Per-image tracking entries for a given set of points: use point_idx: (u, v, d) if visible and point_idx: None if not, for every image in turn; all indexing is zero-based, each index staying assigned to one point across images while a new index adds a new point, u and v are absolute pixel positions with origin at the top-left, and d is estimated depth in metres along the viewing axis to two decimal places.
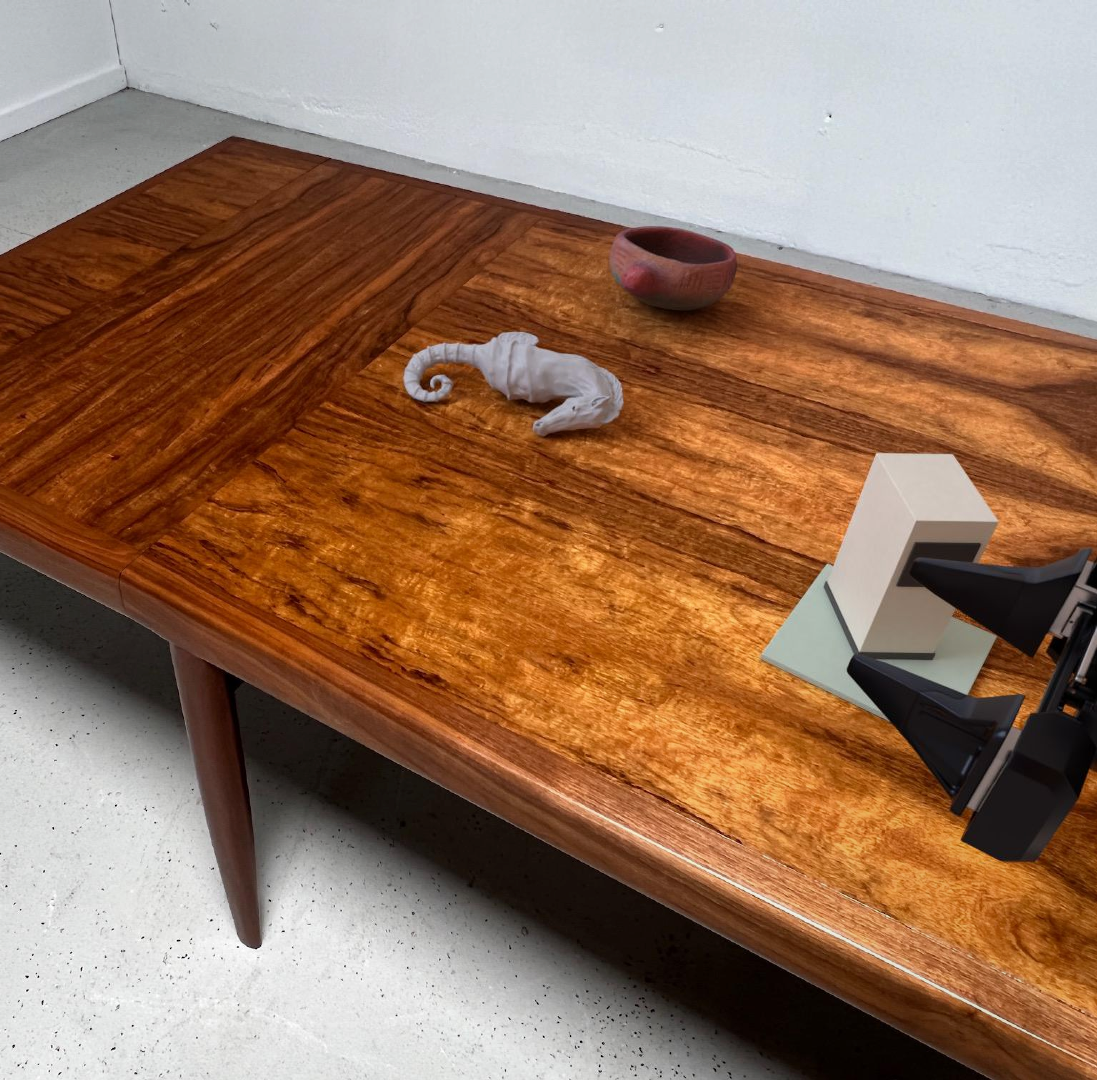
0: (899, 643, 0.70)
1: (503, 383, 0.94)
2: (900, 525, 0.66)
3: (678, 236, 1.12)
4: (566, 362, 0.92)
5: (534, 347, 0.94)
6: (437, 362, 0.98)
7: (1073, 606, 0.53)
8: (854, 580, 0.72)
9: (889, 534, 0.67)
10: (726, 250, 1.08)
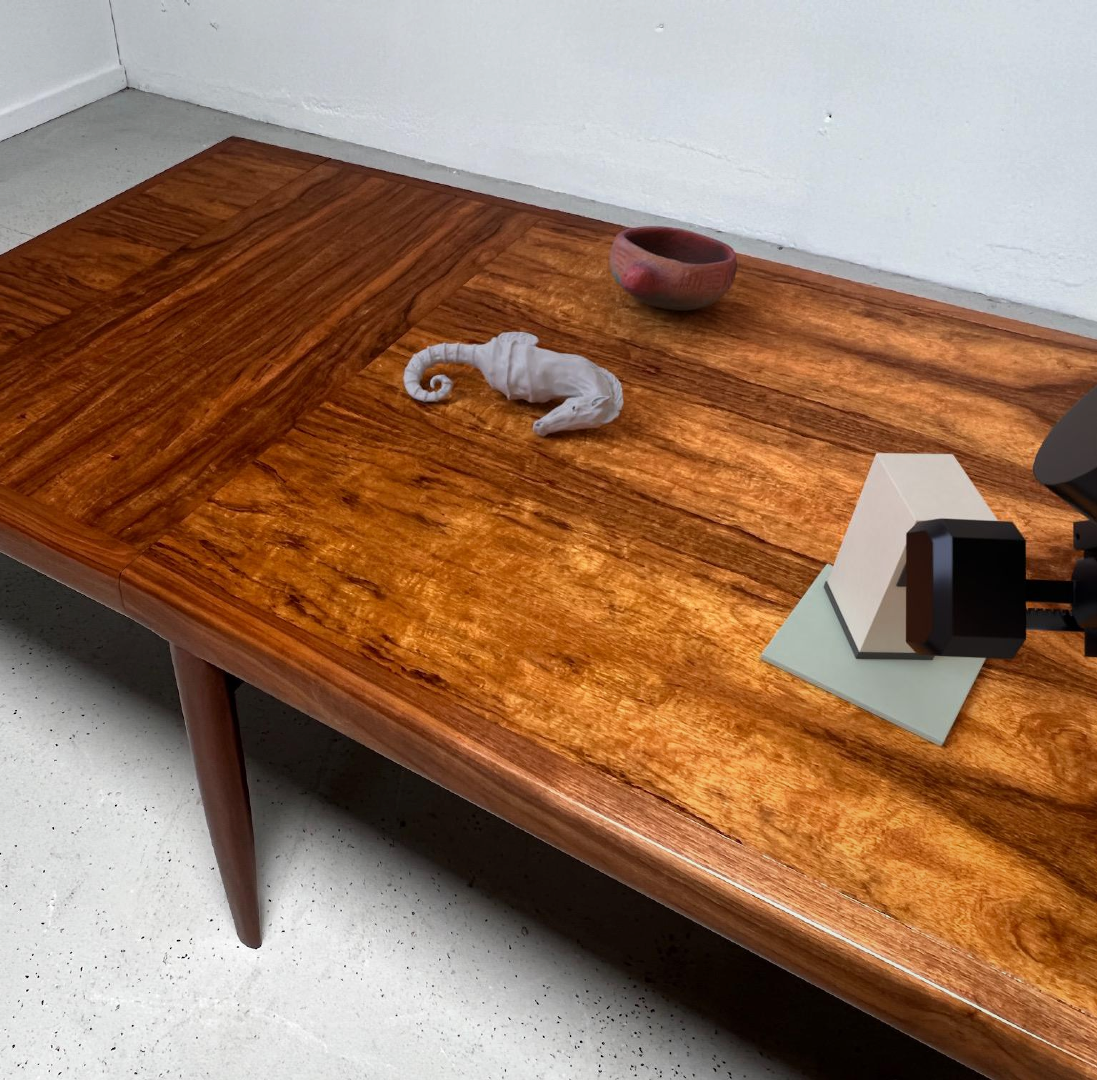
0: (899, 643, 0.70)
1: (503, 383, 0.94)
2: (900, 525, 0.66)
3: (678, 236, 1.12)
4: (566, 362, 0.92)
5: (534, 347, 0.94)
6: (437, 362, 0.98)
7: None
8: (854, 580, 0.72)
9: (889, 534, 0.67)
10: (726, 250, 1.08)
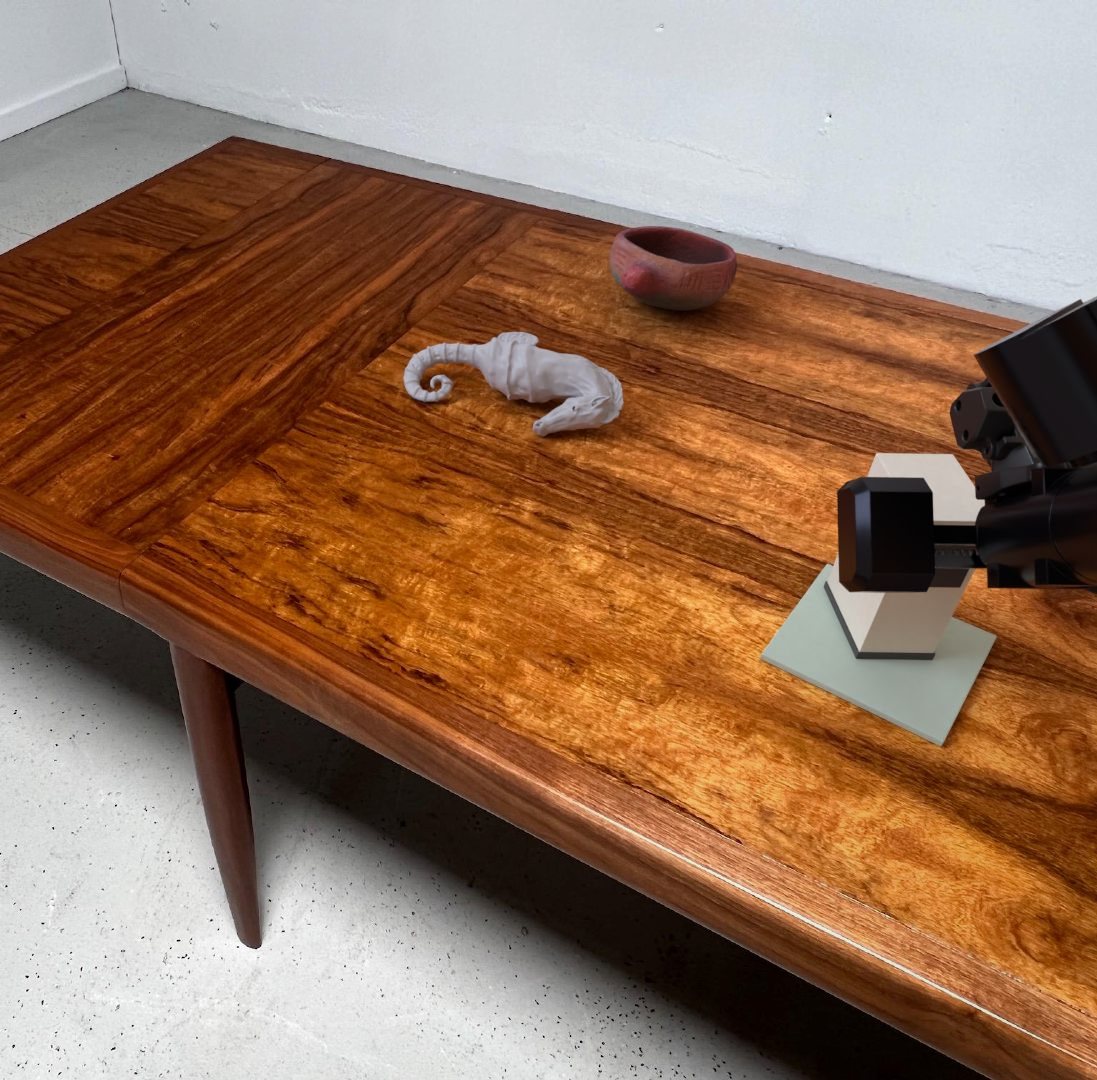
0: (899, 643, 0.70)
1: (503, 383, 0.94)
2: None
3: (678, 236, 1.12)
4: (566, 362, 0.92)
5: (534, 347, 0.94)
6: (437, 362, 0.98)
7: None
8: None
9: None
10: (726, 250, 1.08)
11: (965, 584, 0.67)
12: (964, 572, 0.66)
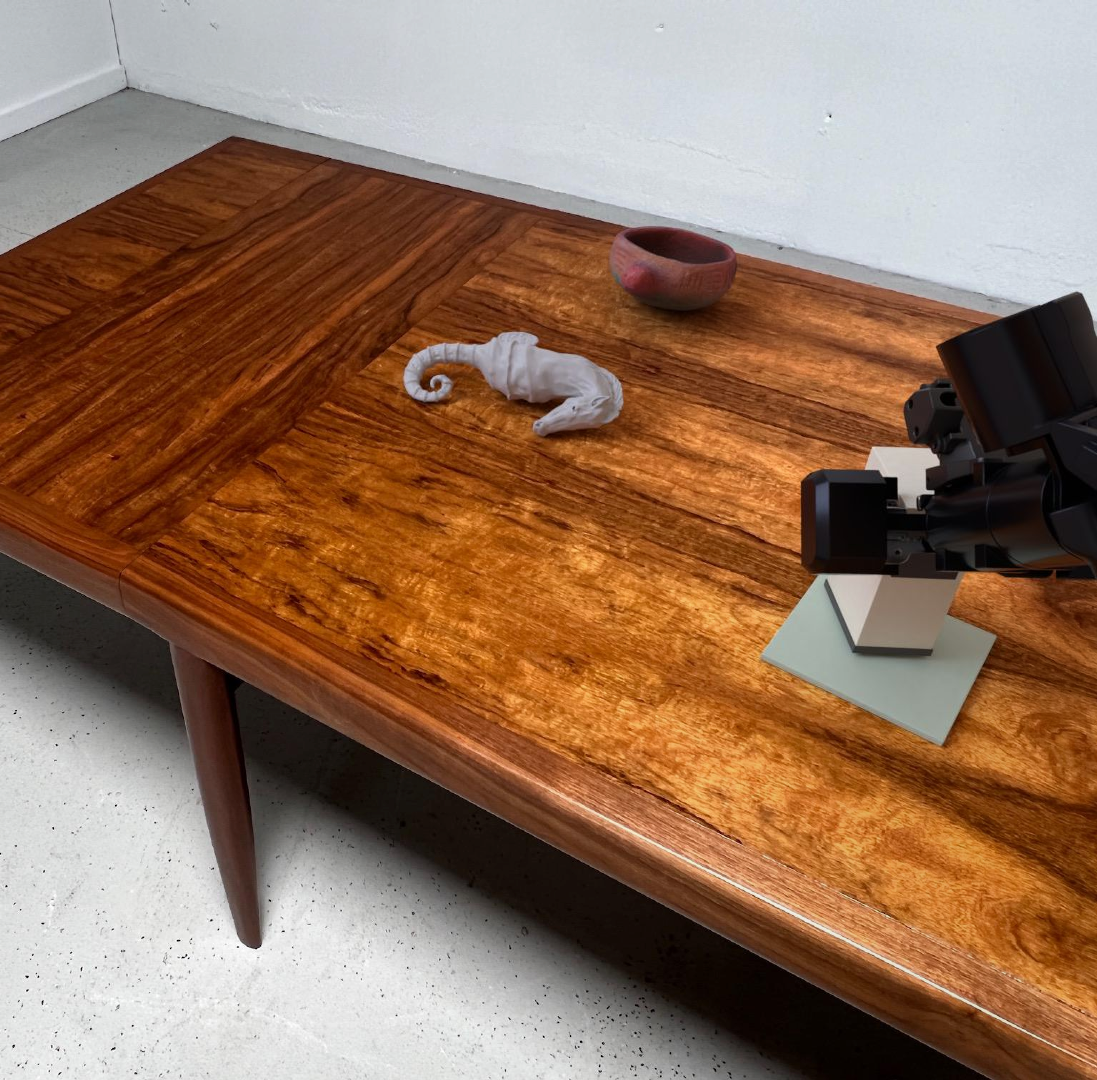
0: (896, 637, 0.70)
1: (503, 383, 0.94)
2: None
3: (678, 236, 1.12)
4: (566, 362, 0.92)
5: (534, 347, 0.94)
6: (437, 362, 0.98)
7: None
8: None
9: None
10: (726, 250, 1.08)
11: (960, 576, 0.67)
12: None
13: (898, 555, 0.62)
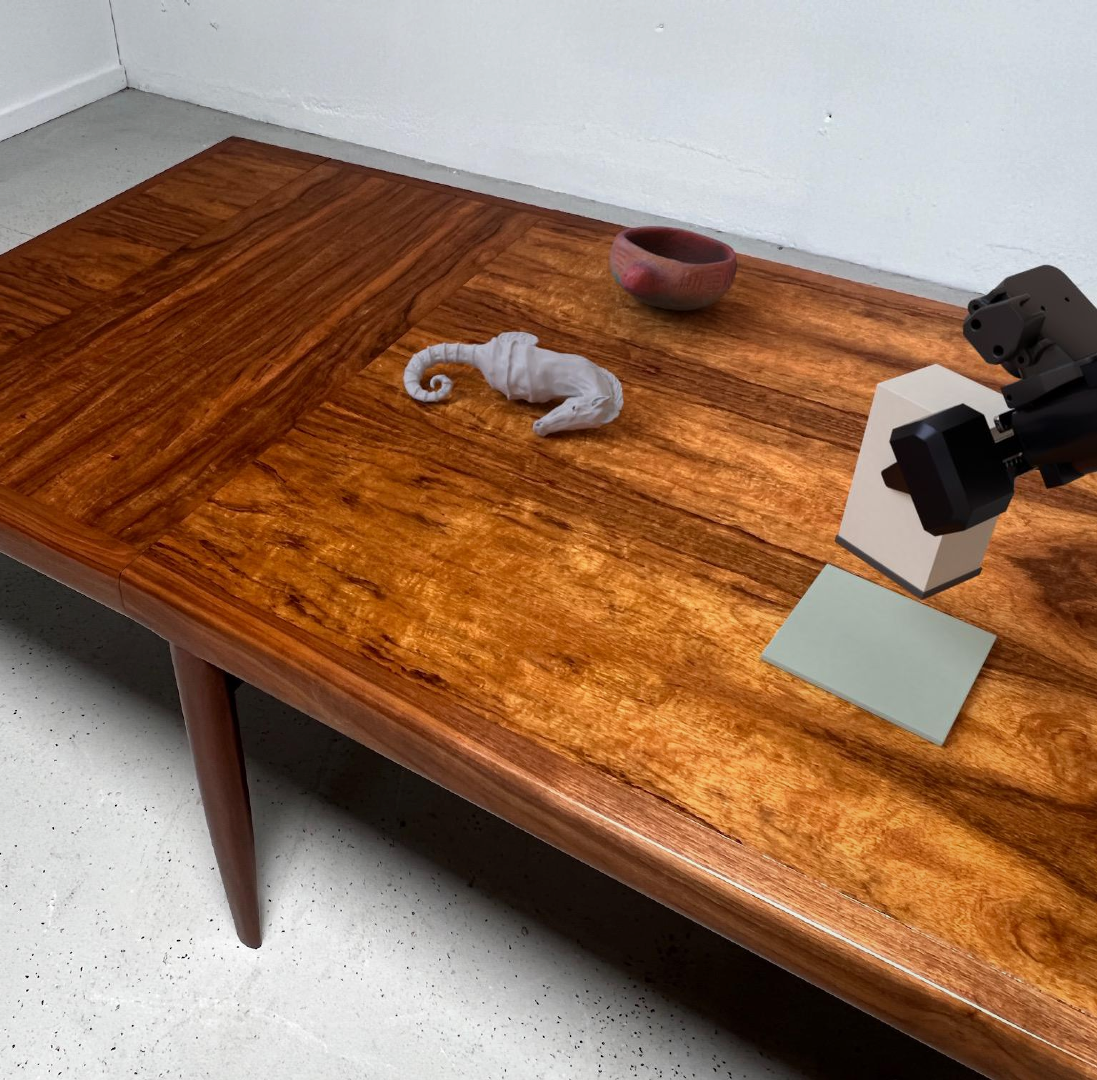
0: (955, 569, 0.66)
1: (504, 383, 0.94)
2: None
3: (678, 236, 1.12)
4: (566, 362, 0.92)
5: (534, 347, 0.94)
6: (437, 362, 0.98)
7: None
8: (887, 521, 0.67)
9: None
10: (726, 250, 1.08)
11: None
12: None
13: None
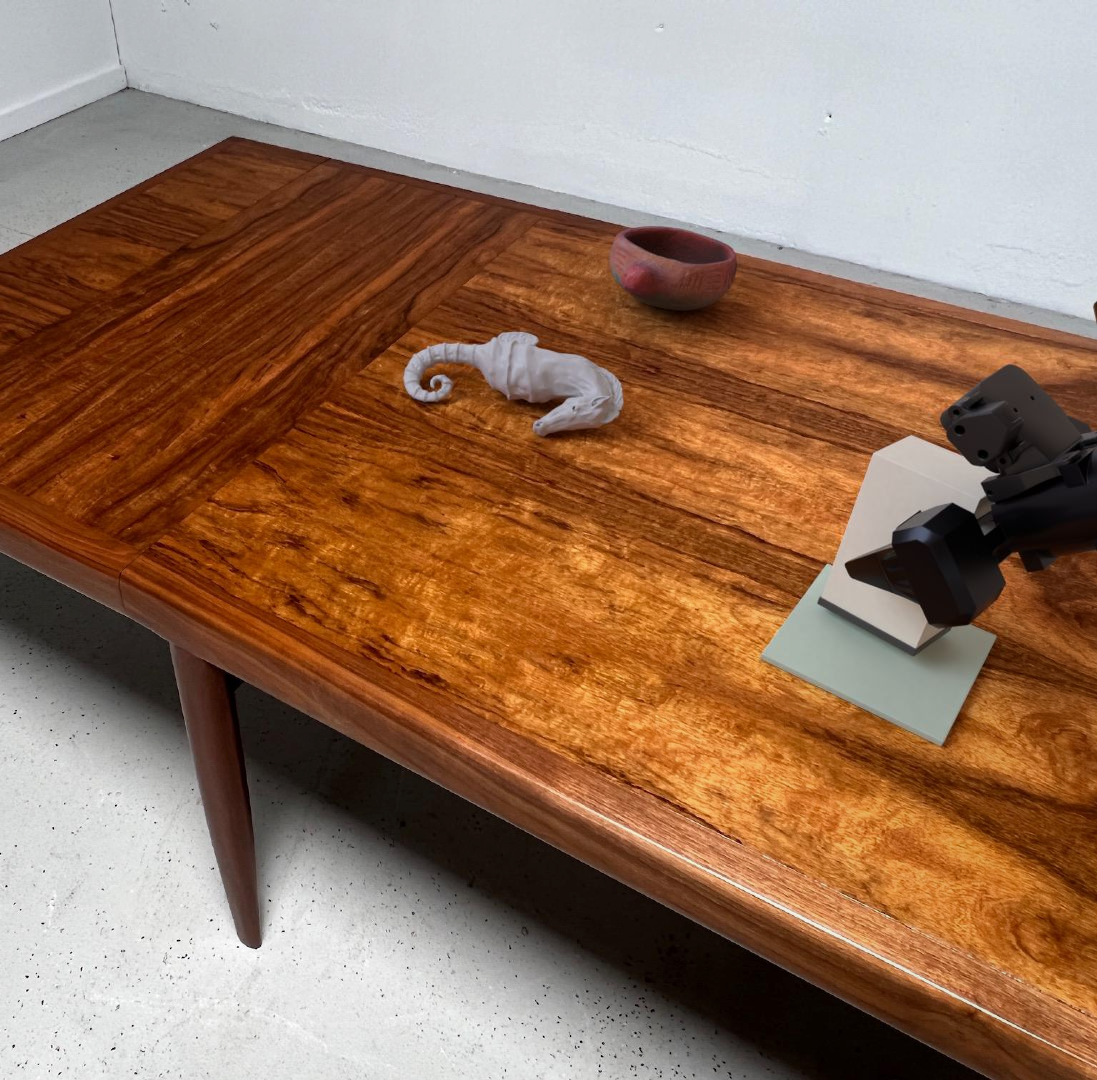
0: None
1: (504, 383, 0.94)
2: None
3: (678, 236, 1.12)
4: (566, 362, 0.92)
5: (534, 347, 0.94)
6: (437, 362, 0.98)
7: None
8: None
9: None
10: (726, 250, 1.08)
11: None
12: None
13: None
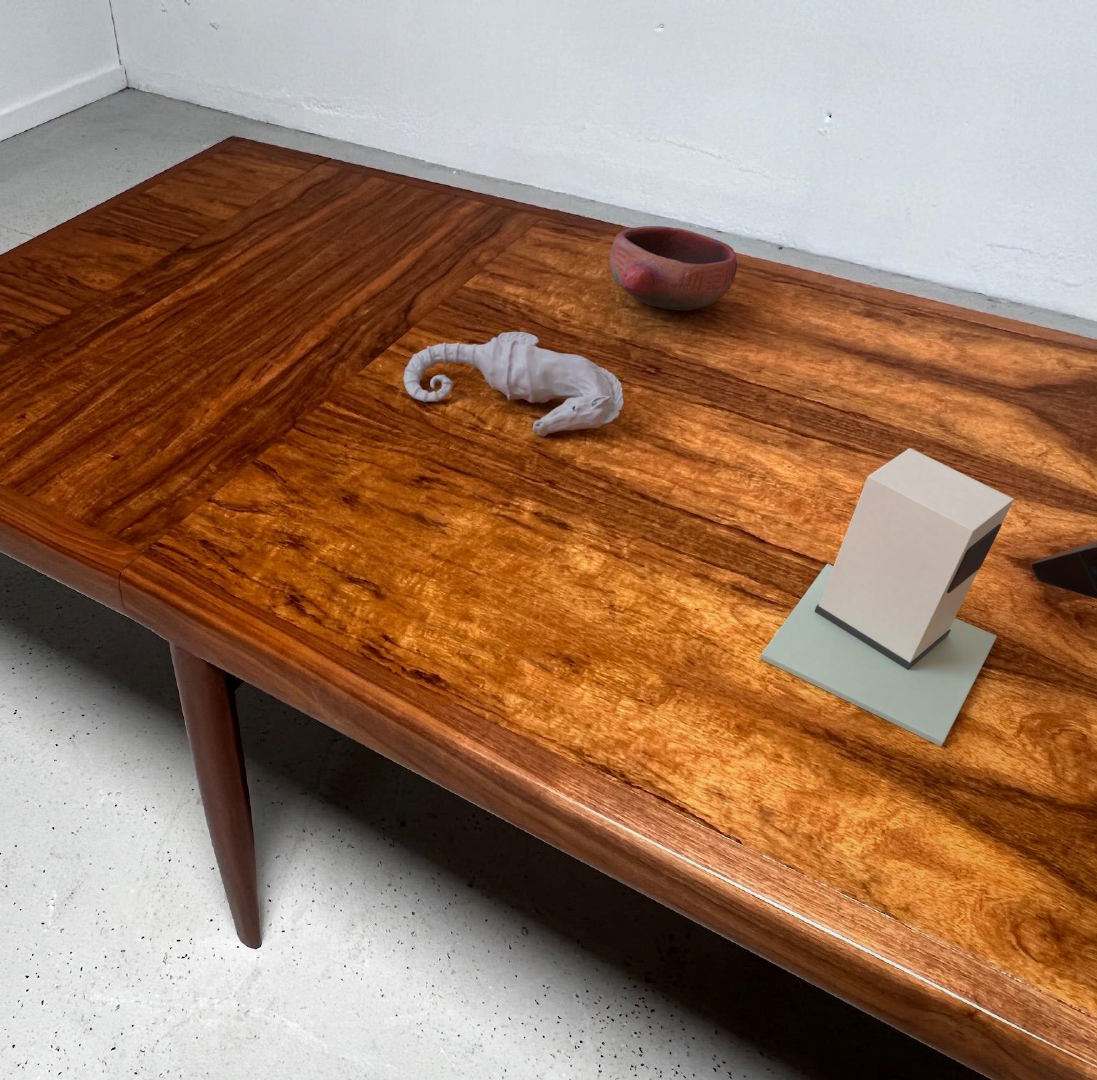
0: (933, 637, 0.71)
1: (504, 383, 0.94)
2: (944, 539, 0.65)
3: (678, 236, 1.12)
4: (566, 362, 0.92)
5: (534, 347, 0.94)
6: (437, 362, 0.98)
7: None
8: (873, 598, 0.71)
9: (925, 548, 0.66)
10: (726, 250, 1.08)
11: None
12: (987, 553, 0.67)
13: None
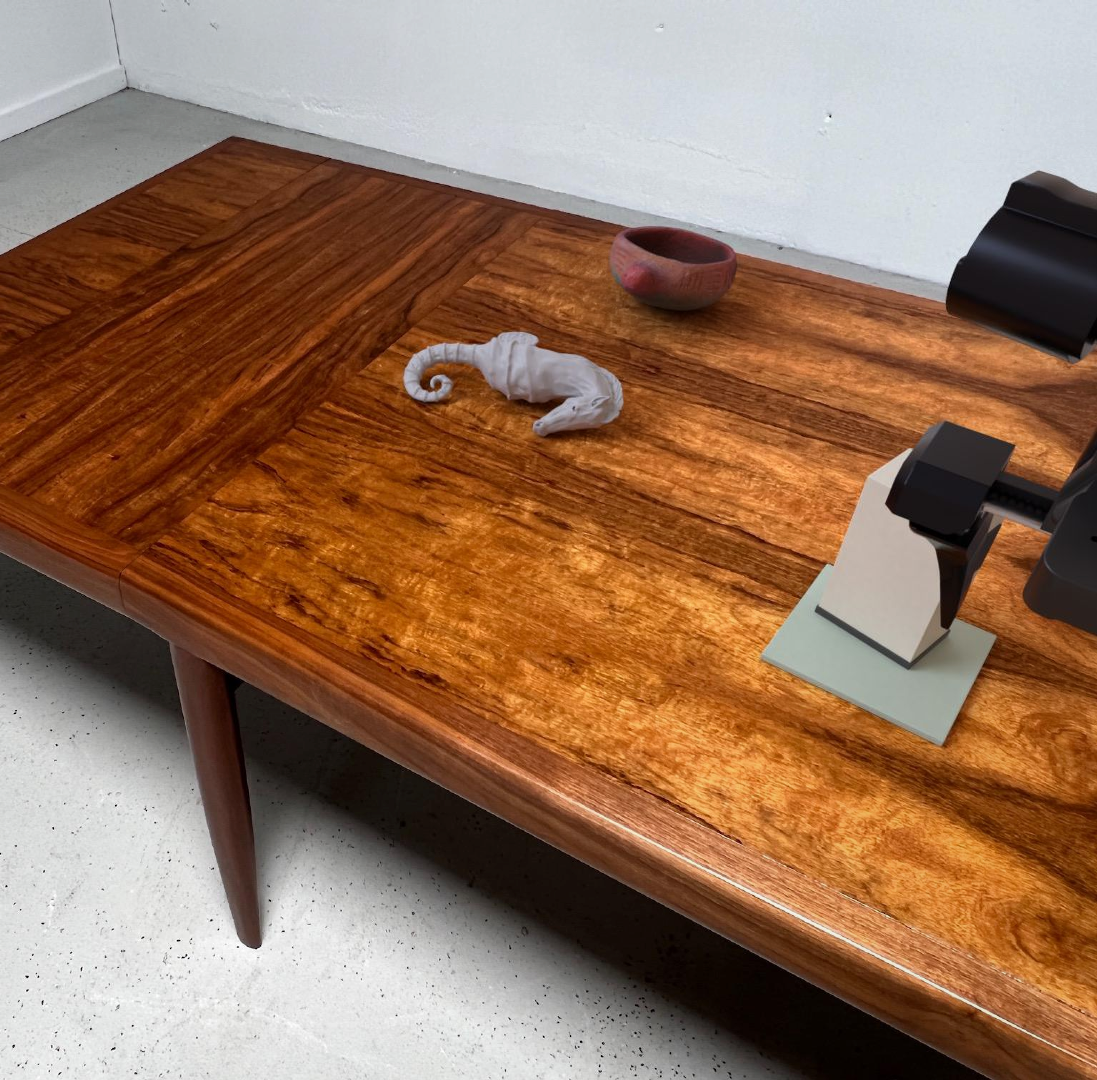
0: (933, 637, 0.71)
1: (504, 383, 0.94)
2: None
3: (678, 236, 1.12)
4: (566, 362, 0.92)
5: (534, 347, 0.94)
6: (437, 362, 0.98)
7: (976, 516, 0.51)
8: (873, 598, 0.71)
9: (925, 548, 0.66)
10: (726, 250, 1.08)
11: None
12: (987, 553, 0.67)
13: None
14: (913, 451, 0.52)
